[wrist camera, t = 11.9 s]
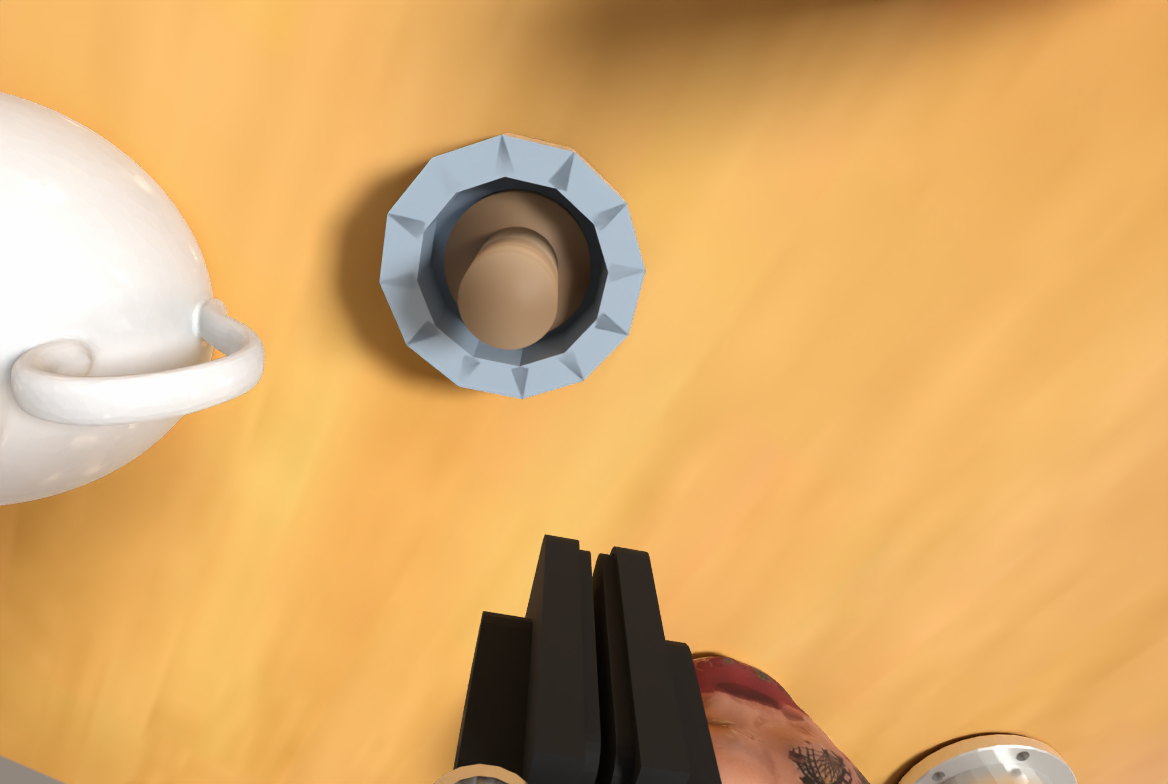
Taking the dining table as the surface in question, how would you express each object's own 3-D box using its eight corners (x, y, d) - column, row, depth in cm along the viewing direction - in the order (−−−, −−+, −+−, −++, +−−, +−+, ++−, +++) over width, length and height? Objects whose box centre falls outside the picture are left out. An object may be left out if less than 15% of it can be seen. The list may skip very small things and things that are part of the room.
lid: (573, 342, 33) (576, 400, 26) (438, 314, 32) (406, 367, 25) (604, 207, 30) (616, 233, 24) (459, 173, 30) (430, 191, 23)
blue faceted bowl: (602, 383, 34) (607, 415, 31) (390, 340, 33) (369, 369, 30) (657, 167, 31) (670, 174, 27) (419, 109, 29) (399, 109, 26)
